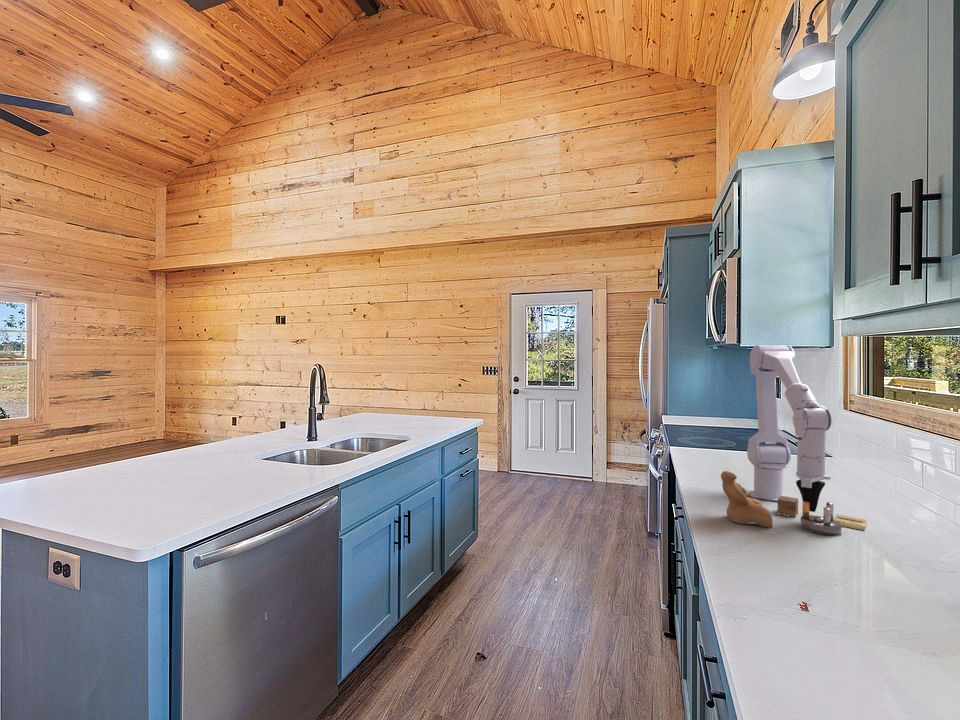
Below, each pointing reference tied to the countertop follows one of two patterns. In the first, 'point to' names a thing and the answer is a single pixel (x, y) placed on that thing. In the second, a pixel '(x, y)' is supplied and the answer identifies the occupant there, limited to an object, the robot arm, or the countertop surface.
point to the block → (788, 506)
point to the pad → (851, 522)
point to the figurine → (743, 503)
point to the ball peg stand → (820, 521)
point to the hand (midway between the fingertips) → (810, 510)
